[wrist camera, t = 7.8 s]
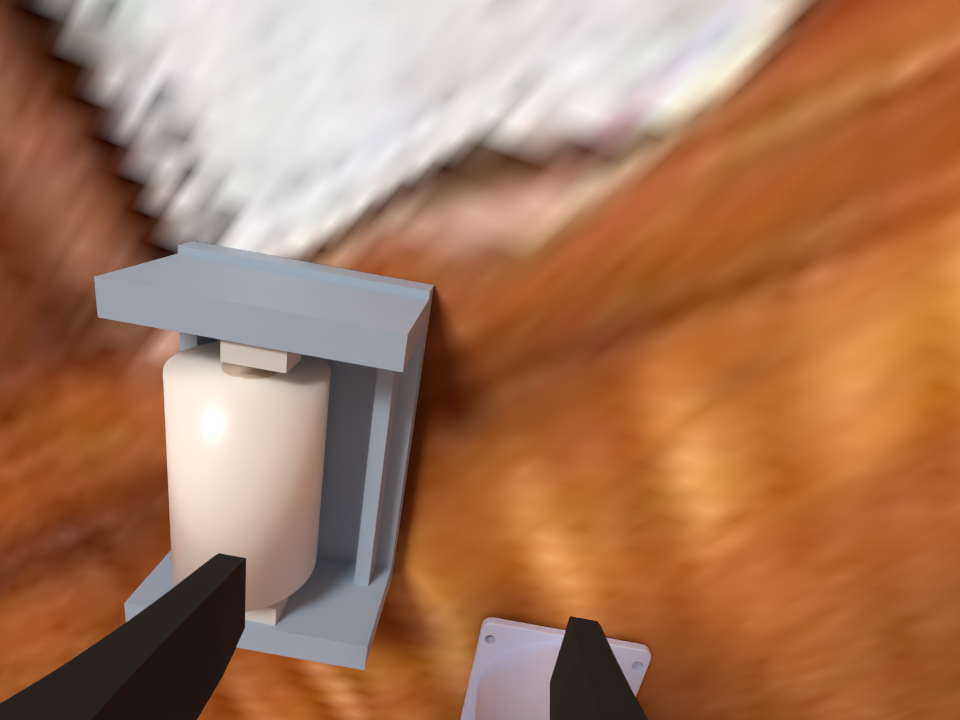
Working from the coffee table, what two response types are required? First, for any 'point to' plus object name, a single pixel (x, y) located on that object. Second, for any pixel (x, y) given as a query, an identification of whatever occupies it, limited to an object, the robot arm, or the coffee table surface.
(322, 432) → the roll
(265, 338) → the holder
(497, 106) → the coffee table surface
